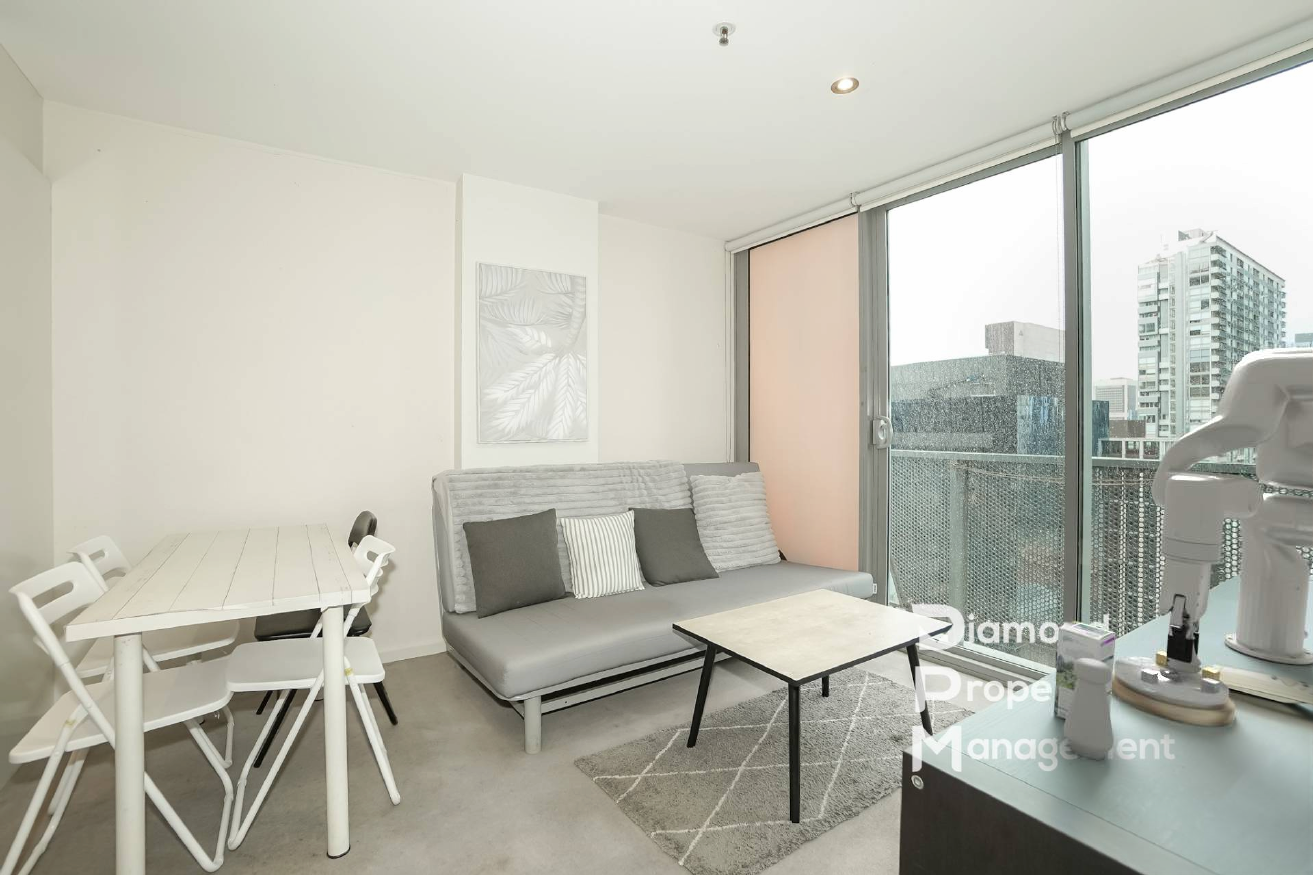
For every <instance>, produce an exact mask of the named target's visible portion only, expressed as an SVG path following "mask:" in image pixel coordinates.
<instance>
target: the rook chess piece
mask: <svg viewBox="0 0 1313 875" xmlns="http://www.w3.org/2000/svg"><path fill="white" fill-rule="evenodd" d="M1183 625H1186V627H1187V624H1186V623H1183ZM1186 630H1187V629H1186ZM1196 630H1197V628H1196V627H1195V626H1194V623H1193V627H1192V636H1191V639H1195V637H1194V636H1193V633H1194V632H1195V631H1196ZM1195 633H1196V632H1195ZM1168 659H1169V660H1170V661H1168V662H1167V664H1168V665H1169V666H1170V667H1171V668H1172V669H1174V670H1177V671H1181V672H1186V673H1198V672H1200V671H1202V669H1203V668H1201V665H1202V662H1201V660H1200V658H1198V655H1196V653H1195V649H1194V641H1193V653H1192V662H1191V663H1186V662H1182V661H1179V660H1175V659H1171V658H1168Z"/></svg>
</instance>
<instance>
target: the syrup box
mask: <svg viewBox="0 0 1313 875" xmlns="http://www.w3.org/2000/svg"><path fill="white" fill-rule="evenodd" d="M1057 635H1058V636H1057V637H1058V639H1057V654H1056V669H1055V670H1056V671H1055V673H1056V674H1055V686H1054V687H1055V688H1054V701H1053V702H1054V704H1053V705H1054V706H1053V716H1054V717H1056V718H1059V719H1061V720H1064V721H1065V720H1066V717H1067V714H1068V710H1069V707H1070V703H1071V700H1072V696H1073V693H1074V689H1075V686H1076V682H1077V679H1078V677H1077V676H1076V675H1075V674H1074V663H1075V661H1076V660H1077V659H1080V658H1090V659H1095V660H1098V661H1101V662H1103V663H1105V664H1106V665H1108V666H1109V668H1110V669H1111V680H1110V682H1109V683H1107V684H1106V691H1107V698H1108V705H1109V712H1110V713H1111V703H1112V702H1111V701H1112V693H1111V689H1112V676H1113V669H1114V665H1115V650H1116V632H1115V631H1112V630H1107V629H1104V628H1101V627H1097V626H1094V625H1091V624H1086V623H1083V622H1081V621H1077V620H1073V621H1070V622H1067V623H1064V624H1063V625H1061V626H1059V627H1058V634H1057Z"/></svg>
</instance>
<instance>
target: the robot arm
mask: <svg viewBox="0 0 1313 875" xmlns="http://www.w3.org/2000/svg"><path fill="white" fill-rule="evenodd" d="M1256 446H1257V450H1256V457H1255V458H1256V459H1255V474H1256V477H1257V479H1258V481H1260V482H1261V483H1263V484H1265V485H1269V486H1273V487H1277V488H1285V489H1286V488H1287V489H1292V490H1293V489H1295V490H1303V491H1304V490H1305V491H1312V492H1313V347H1284V348H1273V349H1271V348H1270V349H1263V350H1259V351H1258V350H1257V351H1253V352H1250V353H1248V354H1246V355H1245V356H1243V357H1242V359H1241V360H1240V362H1238V363H1237V364H1235V367H1234V368H1233V370H1232V372H1231V374H1230V376H1229V379H1228V382H1227V383H1226V386H1225V387H1224V391H1223V393H1222V395H1221V398H1220V400H1219V403H1218V406H1217V407H1216V408H1215V412H1214V414H1213V417H1212V418H1211V420H1210V421H1208V422H1207V423H1205V424H1202V425H1200V426H1198V427H1197V428H1194V429H1193V430H1191V431H1190V432H1188V433H1186V434H1184V436H1182V437H1180V438H1179V439H1178V440H1176V441H1175V442H1174V443H1173V444H1171V446H1170V447H1169V448H1167V450H1166V451H1165V453H1164V455H1163V457H1162V458H1161V460H1160V462H1159V464H1158V467H1157V470H1156V472H1155V475H1154V477H1153V481H1152V484H1151V496H1152V499H1153V502H1154V503H1155V504H1156V505H1157V506H1159V507H1160V508H1162V509H1163V517H1162V518H1163V519H1162V532H1161V534H1162V535H1161V545H1160V546H1161V548H1160V555H1161V557H1164V558H1166V559H1165V563H1164V566H1163V571H1162V572H1163V573H1162V578H1161V579H1162V580H1161V584H1160V585H1161V586H1160V594H1159V603H1158V609H1157V612H1158V614H1159V615H1160V616H1162V617H1164V616H1167V615H1168V614H1169V613H1170V616H1169V617H1170V618H1169V625H1168V634H1167V642H1166V643H1167V644H1166V652H1165V653H1166V656H1167V657H1168V658H1171V659H1175V660H1179V661H1182V662H1186V663H1191V662H1192V653H1193V641H1194V649H1195V653H1196V655H1197V656H1198V654H1199V643H1200V633H1199V631H1200V619H1201V618H1202V617H1203V616H1204V615H1205V614H1206V612H1207V609H1208V604H1209V598H1210V597H1209V596H1210V589H1211V588H1210V587H1211V572H1212V565H1220V564H1221V558H1222V557H1221V556H1222V546H1223V545H1222V544H1223V533H1224V523H1225V521H1224V520H1225V519H1226V520H1236V521H1238V520H1239V526H1240V532H1241V533H1240V534H1241V566H1240V574H1239V589H1238V598H1237V599H1238V601H1237V612H1236V625H1235V633H1230V634H1229V633H1228V634H1227V635H1225V636H1224V640H1223V641H1224V643H1225V645H1227V646H1228V647H1229V648H1231V649H1233V650H1236V651H1238V652H1240V653H1241V654H1242V653H1243V654H1245V655H1248V656H1252V657H1256V658H1258V659H1262V660H1267V661H1271V662H1275V663H1282V664H1289V665H1298V666H1299V665H1310V664H1313V653H1312V651H1310V650H1308V649H1306V648H1304V641H1305V639H1307V638H1308V637H1309V633H1308V631H1306V620H1307V610H1308V600H1309V598H1308V597H1309V588H1310V587H1309V586H1310V578H1311V571H1310V570H1311V569H1310V567H1309V565H1308V562H1307V561H1306V560H1305V558H1304V557H1303V555H1302V554H1301V553H1300V552H1299V550H1297V548H1296V547H1300V548H1301V547H1302V548H1308V549H1313V497H1307V496H1298V495H1290V494H1283V493H1282V494H1280V493H1271V492H1269V493H1264V492H1263V489H1262V486H1260V485H1259V483H1258V482H1256V481H1255V480H1253V479H1251V478H1250V477H1246V476H1243V475H1237V474H1236V475H1235V474H1228V473H1227V474H1226V473H1216V472H1209V471H1207V472H1206V471H1198V470H1190V469H1191V468H1192V467H1193V466H1195V465H1196V464H1197V463H1199V462H1201V461H1203V460H1206V459H1208V458H1211V457H1214V456H1218V455H1223V454H1225V453H1231V452H1236V451H1239V450H1244V449H1248V448H1252V447H1256ZM1183 623H1186V624H1187V627H1186V625H1183ZM1193 623H1194V626H1195V627H1196V628H1197V630H1196V631H1195V632H1194V633H1193V636H1194V637H1195V639H1191V636H1192V627H1193ZM1186 629H1187V630H1186Z"/></svg>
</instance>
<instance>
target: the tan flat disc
mask: <svg viewBox="0 0 1313 875" xmlns="http://www.w3.org/2000/svg"><path fill="white" fill-rule="evenodd" d="M1114 669H1115V668H1113V676H1112V689H1111V692H1112V693H1113V694H1114V695H1115V696H1116V698H1117V697H1118V698H1119V699H1118V698H1117V699H1118V700H1119V701H1122V702H1123V703H1125V704H1126V705H1128V706H1130V707H1133V708H1135V709H1136V710H1139V711H1142V712H1143V713H1147V714H1149V715H1152V716H1155V717H1158V718H1161V719H1165V720H1169V721H1173V722H1177V723H1181V724H1187V725H1192V726H1200V727H1223V725H1224V726H1227V725H1230V724H1232V721H1233V722H1234V720H1235V711H1236V704H1235V702H1234V701H1233V700H1232V698H1231V697H1229V698H1228V705H1227V706H1226V707H1224V708H1221V709H1216V710H1201V709H1192V708H1186V707H1180V706H1176V705H1171V704H1168V703H1164V702H1160V701H1157V700H1154V699H1151V698H1148V697H1146V696H1143V695H1141V694H1138V693H1136V692H1134V691H1132V690H1130V689H1128V688H1127V687H1125V686H1123V685H1122V684H1121V683H1119V682H1118V681H1117V680H1116V678H1115V677H1114ZM1112 693H1111V694H1112ZM1113 694H1112V695H1113ZM1114 695H1113V696H1114ZM1115 696H1114V697H1115ZM1233 719H1234V720H1233ZM1229 723H1230V724H1229Z"/></svg>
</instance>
